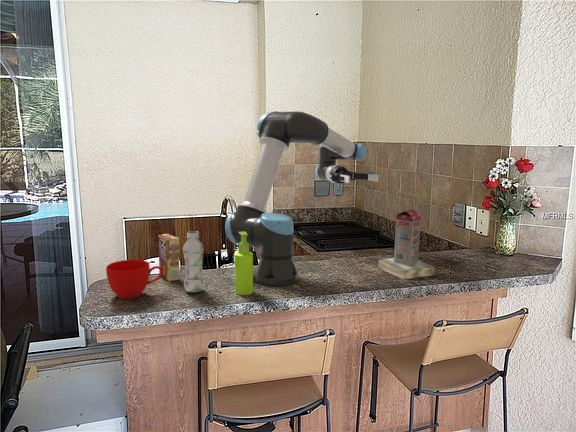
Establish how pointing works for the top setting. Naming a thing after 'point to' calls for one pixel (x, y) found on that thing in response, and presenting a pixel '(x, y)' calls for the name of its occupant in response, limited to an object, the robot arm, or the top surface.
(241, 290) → the soap dispenser
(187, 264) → the plastic bottle
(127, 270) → the ceramic cup
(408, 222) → the juice carton
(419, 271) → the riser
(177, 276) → the candy box
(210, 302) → the top surface
